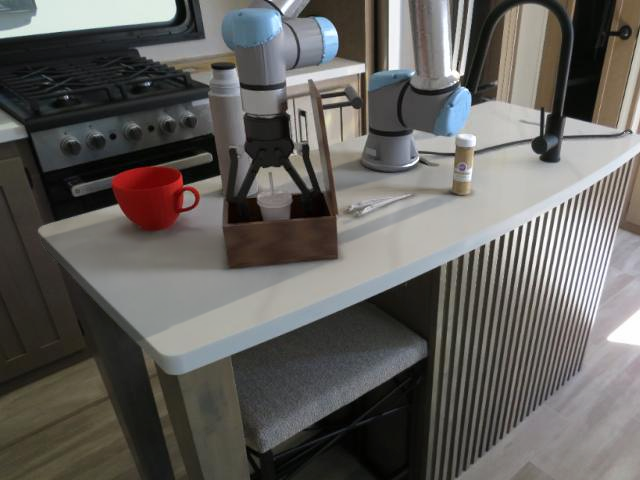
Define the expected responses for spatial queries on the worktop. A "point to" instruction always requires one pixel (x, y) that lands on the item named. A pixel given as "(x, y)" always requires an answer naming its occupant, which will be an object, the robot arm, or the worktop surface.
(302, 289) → the worktop surface
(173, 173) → the ceramic cup
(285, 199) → the smoothie
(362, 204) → the tweezers
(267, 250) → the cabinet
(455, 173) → the sprinkles bottle
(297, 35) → the robot arm
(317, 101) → the wooden panel
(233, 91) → the thermos bottle
